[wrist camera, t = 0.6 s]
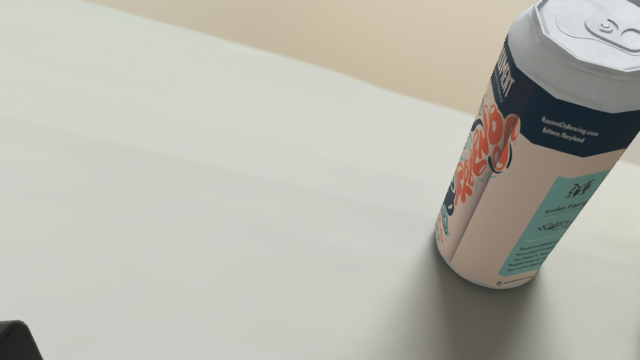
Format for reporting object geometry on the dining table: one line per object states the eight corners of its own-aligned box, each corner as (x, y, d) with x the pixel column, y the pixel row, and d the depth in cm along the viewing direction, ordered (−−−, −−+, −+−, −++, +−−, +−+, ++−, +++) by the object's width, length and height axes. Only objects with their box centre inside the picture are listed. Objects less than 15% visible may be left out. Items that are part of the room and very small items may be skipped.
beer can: (465, 184, 27) (561, -45, 18) (557, 239, 26) (718, 19, 16) (411, 251, 25) (489, 28, 15) (509, 316, 23) (664, 111, 14)
